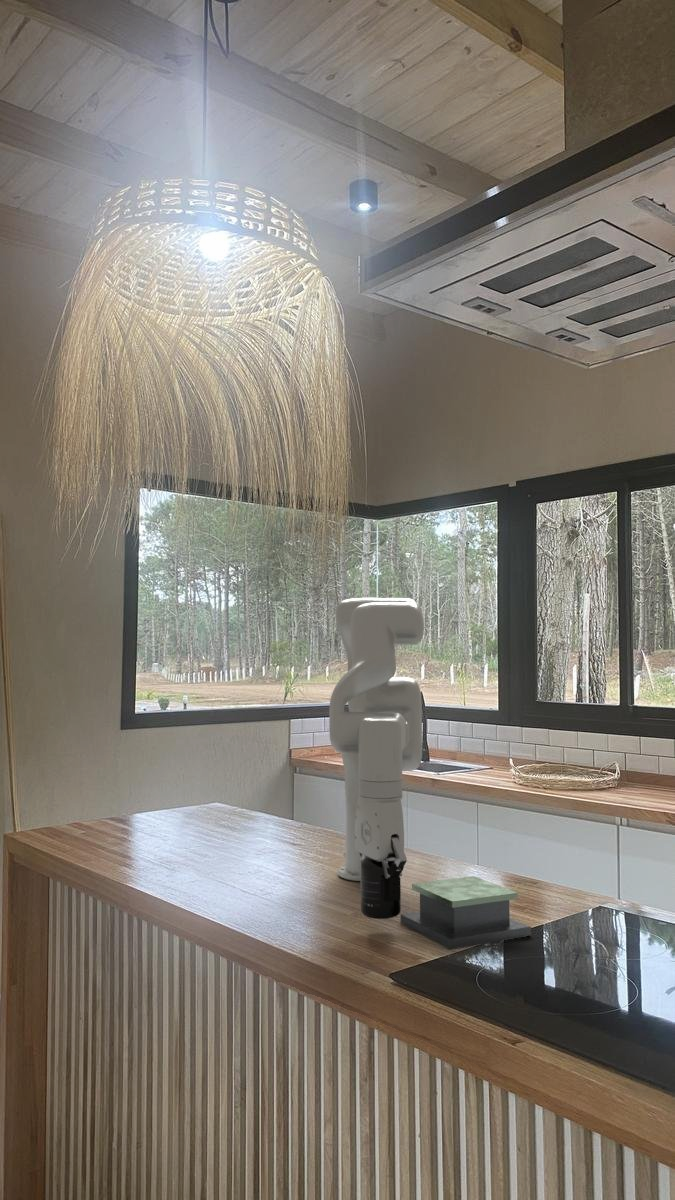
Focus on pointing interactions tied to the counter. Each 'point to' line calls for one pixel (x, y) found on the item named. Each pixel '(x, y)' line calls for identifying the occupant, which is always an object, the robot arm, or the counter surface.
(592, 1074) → the counter surface
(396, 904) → the supplement bottle
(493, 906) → the stand
